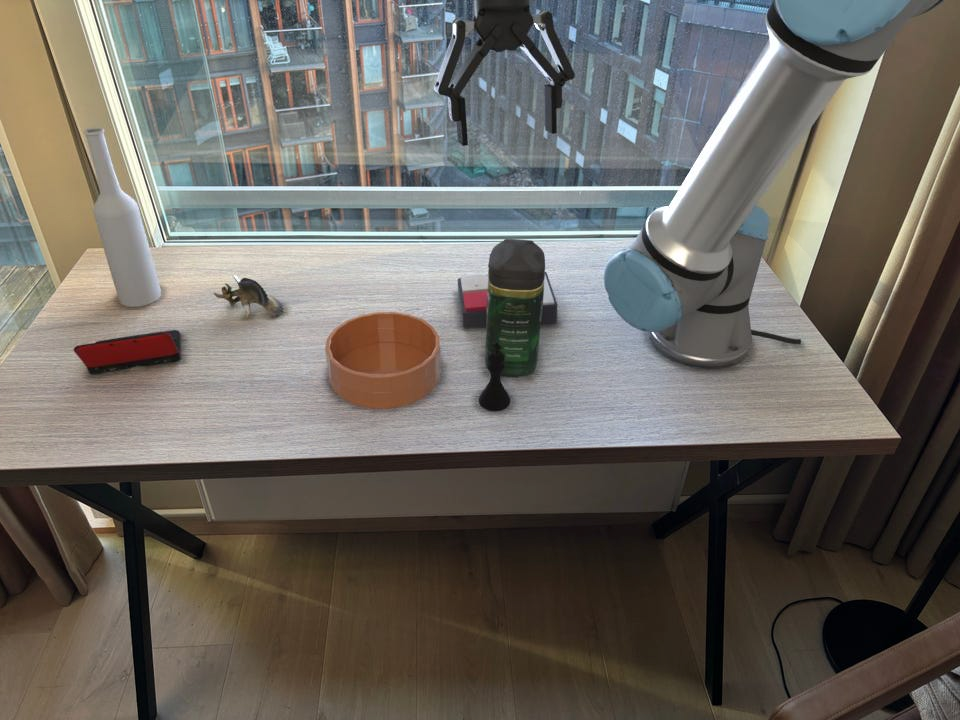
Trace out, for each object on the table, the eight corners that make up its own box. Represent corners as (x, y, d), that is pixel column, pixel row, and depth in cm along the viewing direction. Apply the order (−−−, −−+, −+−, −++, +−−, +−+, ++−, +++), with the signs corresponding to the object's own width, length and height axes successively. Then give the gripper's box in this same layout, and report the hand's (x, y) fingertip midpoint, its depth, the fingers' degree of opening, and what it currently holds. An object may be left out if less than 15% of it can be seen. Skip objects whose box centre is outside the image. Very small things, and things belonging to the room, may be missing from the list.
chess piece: (494, 387, 109) (497, 329, 104) (516, 402, 107) (520, 343, 101) (472, 400, 107) (473, 341, 101) (494, 416, 104) (496, 356, 99)
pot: (453, 351, 116) (453, 320, 113) (421, 417, 104) (420, 385, 101) (354, 334, 119) (351, 304, 116) (311, 397, 107) (306, 366, 104)
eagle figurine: (215, 319, 120) (268, 315, 118) (211, 273, 120) (264, 268, 118) (239, 319, 127) (290, 315, 126) (235, 276, 127) (286, 271, 125)
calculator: (457, 273, 128) (546, 266, 129) (458, 295, 130) (545, 288, 131) (462, 309, 119) (558, 301, 120) (463, 332, 122) (557, 324, 123)
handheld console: (181, 334, 119) (171, 293, 114) (181, 375, 110) (169, 333, 106) (94, 346, 115) (79, 304, 111) (86, 390, 107) (70, 346, 103)
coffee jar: (537, 382, 111) (546, 269, 100) (482, 378, 111) (485, 265, 100) (538, 343, 118) (547, 234, 107) (487, 340, 119) (490, 231, 108)
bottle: (168, 287, 129) (126, 123, 113) (149, 308, 124) (102, 139, 108) (131, 284, 130) (84, 120, 114) (111, 304, 125) (58, 136, 108)
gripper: (576, -32, 108) (576, 122, 119) (403, -18, 103) (418, 143, 113) (599, -31, 102) (596, 132, 112) (415, -16, 96) (431, 154, 107)
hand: (507, 137), depth 113 cm, fingers open, 13 cm apart
